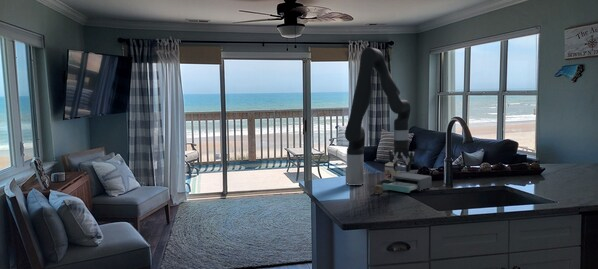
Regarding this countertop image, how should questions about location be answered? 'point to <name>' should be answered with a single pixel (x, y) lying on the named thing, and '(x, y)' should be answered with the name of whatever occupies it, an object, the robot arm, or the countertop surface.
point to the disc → (400, 168)
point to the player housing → (414, 180)
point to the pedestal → (378, 189)
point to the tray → (400, 186)
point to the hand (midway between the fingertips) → (401, 171)
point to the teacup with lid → (390, 171)
